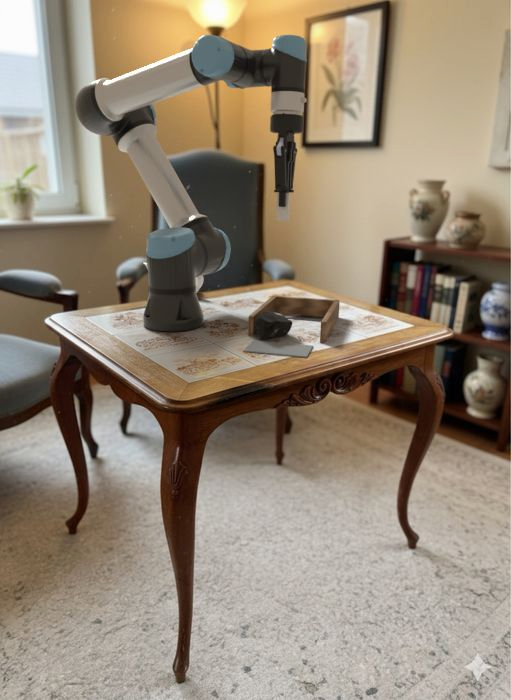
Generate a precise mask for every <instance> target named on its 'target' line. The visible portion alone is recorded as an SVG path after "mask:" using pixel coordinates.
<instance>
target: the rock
mask: <svg viewBox="0 0 511 700" xmlns="http://www.w3.org/2000/svg"><path fill="white" fill-rule="evenodd" d="M292 326H293V321H292V319H287V317H286V316H285V315H284V314H281V313H277V312H270V311H263V312H262V314H261V315H260V316H259V317H257V318H256V327H257V333H256V334H257V336H258V338H259V339H268V338H273V337H274V338H275V337H282V336H286V335H288V333H290V331H291V329H292Z"/></svg>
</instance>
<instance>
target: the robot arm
mask: <svg viewBox="0 0 511 700" xmlns="http://www.w3.org/2000/svg"><path fill="white" fill-rule="evenodd" d="M307 62H308V59H307V41H306V39H305V38H304V37H302V36H299V35H295V34H281V35H277V36H275V37H274V38H273V40H272V43H271V48H266V49H249V48H247V47H244V46H242V45H239V44H236V43H235V42H232V41H230V40H228V39H226V38H224V37H223V36H220V35H213V34H204V35H202V36H200V37H199V38H198V39H197V40H196V42H194V44H193V46H192V48H190V49H187V50H185V51H182V52H180V53H176V54H175V55H172V56H169V57H167V58H164V59H161V60H159V61H157V62H155V63H151V64H148V65H147V66H146V65H145V66H144V67H141V68H139V69H136V70H134V71H133V70H132V71H131V72H129V73H125V74H123V75H121V76H118V77H116V78H112V79H110V78H107V77H102V78H99V79H97V80H94V81H92V82H89V83H88V84H86V85H84V86H82V88H81V89H80V90H79V92H78V93H77V94H76V98H75V103H74V106H75V115H76V117H77V118H78V122H80V124H81V125H82V126H83V127H84V128H85V129H86V130H88V131H89V132H91V133H93V134H96V135H98V136H99V135H100V136H109V137H111V138H112V139H113V142H114V143H115V145H116V147H117V148H118V150H119V151H120V152H123V153H126V154H127V155H128V156H129V158H130V159H131V161H132V163H133V165H134V167H135V168H136V170H137V172H138V174H139V175H140V177H141V179H142V181H143V182H144V185H145V186H146V188H147V190H148V191H149V193H150V194H151V197H152V198H153V200H154V202H155V203H156V205H157V207H158V210H159V211H160V213H161V215H162V216H163V218H164V220H165V221H166V223H167V225H168V228H161V229H157V230H154V231H152V232H150V233H149V234H148V235H147V236H146V246H145V247H146V248H145V254H146V263H147V267H146V269H147V268H148V269H147V281H148V283H147V284H148V296H147V301H146V303H145V304H146V305H145V308H144V311H143V317H142V319H143V321H142V322H143V326H144V327H145V328H146V329H149V330H153V331H158V332H182V331H190V330H194V329H197V328H199V327H202V326H203V325H204V323H205V322H204V321H205V320H204V313H203V309H202V307H201V304H200V301H199V298H198V295H197V293H196V277H199V276H203V277H204V276H206V275H211V274H212V275H213V274H214V273H216V272H218V271H220V270H223V268H224V267H226V265H227V264H228V262H229V260H230V257H231V256H230V255H231V252H232V251H231V250H232V248H231V247H232V246H231V242H230V239H229V237H228V235H227V234H226V233H225V232H224V231H223V230H221V229H219V228H216V227H214V226H213V224H212V222H211V221H210V219H209V217H208V216H207V215H204V214H200V212H199V211H198V209H197V208H196V205H195V204H194V203H193V200H192V199H191V197H190V195H189V193H188V192H187V190H186V189H185V187H184V185H183V183H182V182H181V181H182V180H180V178H179V176H178V174H177V173H176V171H175V168H173V166H172V164H171V161H170V160H169V157H167V154H166V153H165V151H164V150H163V148H162V146H161V144H160V142H159V140H158V139H157V134H158V128H157V121H156V118H157V115H156V110H155V108H154V106H153V104H156V103H158V102H162V101H164V100H168V99H171V98H172V97H177V96H178V95H182V94H184V93H187V92H189V91H193V90H196V89H198V88H201V87H204V86H207V85H210V84H213V83H216V82H220V81H223V82H224V83H225V84H226V86H227V87H228V88H231V89H240V90H241V89H248V88H249V89H250V88H260V87H261V88H264V87H268V88H270V87H271V88H270V89H271V91H270V112H271V113H272V114H271V115H270V120H269V121H270V123H269V124H270V125H269V126H270V127H269V129H270V130H269V131H270V133H272V134H277V139H276V141H275V145H273V147H272V150H273V157H274V158H273V159H274V162H273V163H274V190H273V192H274V193H277V202H276V204H277V205H276V222H290V211H291V210H290V209H291V208H290V207H291V206H290V205H291V193H294V192H295V189H293V188H294V179H295V170H296V169H295V168H296V160H297V159H296V158H297V154H298V148H297V143H296V141H295V134H302V133H303V132H304V116H303V115H302V114H303V113H304V109H305V103H307V101H308V100H307V98H306V97H305V91H306V76H307V75H306V72H307Z"/></svg>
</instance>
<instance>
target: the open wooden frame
mask: <svg viewBox="0 0 511 700" xmlns="http://www.w3.org/2000/svg"><path fill="white" fill-rule="evenodd" d="M263 311H270V312H277V313H279V314H281V315H292V316H290V317H288V316H287V317H286V318H287V319H288V320H294V321H295V320H297V321H307V322H318V323H320V333H319V334H320V335H319V336H320V337H319V343H320V344H326V342H327V341H328V339H329V337H330V335H331V333H332V331H333V330H334V327H335V325H336V324H337V322H338V320H339V316H340V299H327V298H314V297H312V298H311V297H299V296H283V295H271V297H269V298H268V299H267V300H266V301H265V302H263V304H261V305H260V306H259V307H258V308H257V309H255V310H254V311H253V312H251V313H250V314H249V315H248V317H247V319H248V326H247V327H248V335H247V336H248V337H254V336H255V335H256V334H257V327H256V318H257V317H259V316H260V315H261V314H262V312H263Z"/></svg>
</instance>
